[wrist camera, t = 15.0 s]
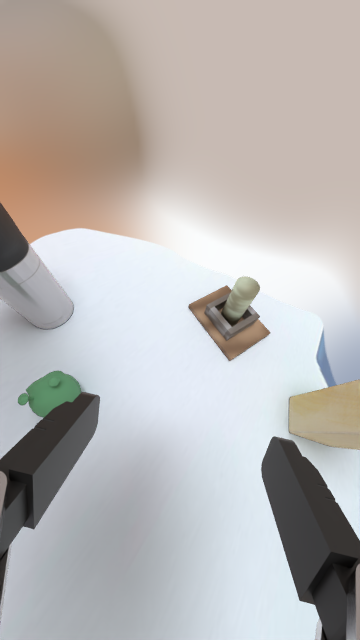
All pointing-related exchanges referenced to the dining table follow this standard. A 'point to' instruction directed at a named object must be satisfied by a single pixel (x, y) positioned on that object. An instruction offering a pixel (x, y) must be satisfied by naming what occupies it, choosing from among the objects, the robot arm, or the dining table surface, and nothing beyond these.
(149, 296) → the dining table surface
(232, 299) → the pale green cylinder
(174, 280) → the dining table surface
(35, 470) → the robot arm
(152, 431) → the dining table surface
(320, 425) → the toy refrigerator
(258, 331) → the jig
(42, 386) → the alien toy
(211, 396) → the dining table surface
